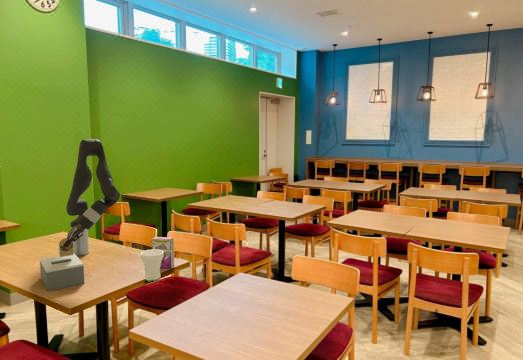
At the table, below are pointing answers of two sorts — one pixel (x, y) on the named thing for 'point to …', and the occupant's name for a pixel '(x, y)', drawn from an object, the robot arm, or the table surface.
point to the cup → (152, 263)
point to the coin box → (61, 272)
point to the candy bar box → (165, 250)
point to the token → (63, 250)
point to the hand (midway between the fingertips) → (64, 245)
